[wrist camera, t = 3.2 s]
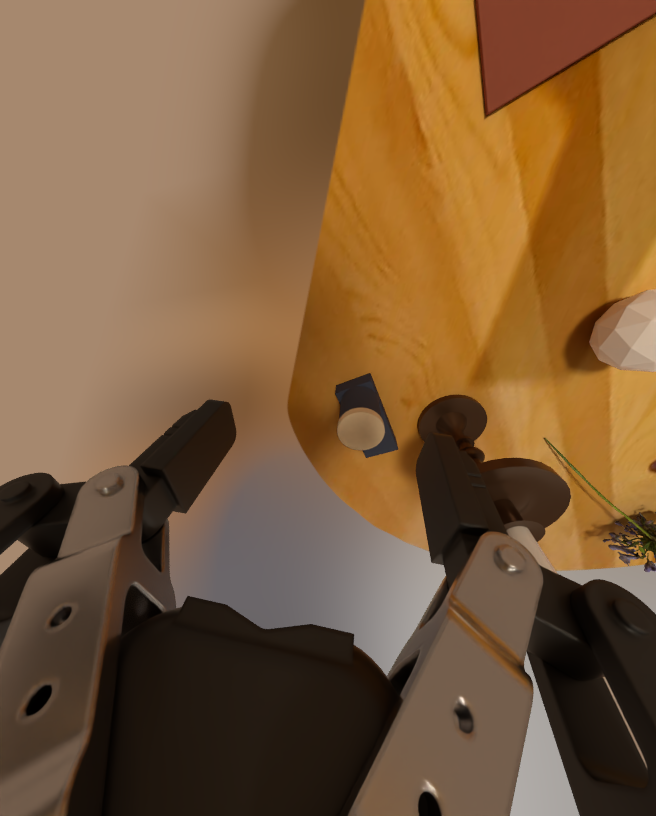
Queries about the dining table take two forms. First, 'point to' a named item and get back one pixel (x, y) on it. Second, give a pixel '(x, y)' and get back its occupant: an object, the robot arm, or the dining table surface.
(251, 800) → the robot arm
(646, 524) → the flower
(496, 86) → the mat
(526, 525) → the candlestick
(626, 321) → the geometric ball
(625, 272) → the dining table surface
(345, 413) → the bootie
